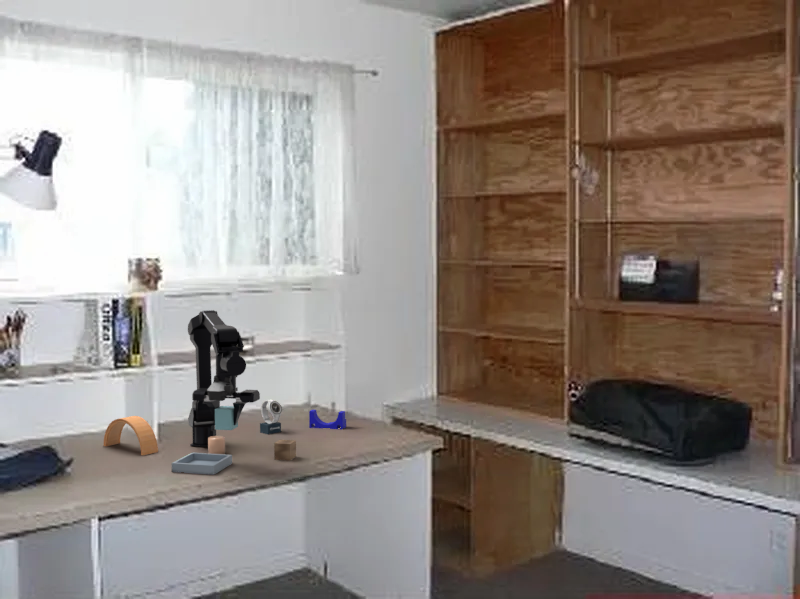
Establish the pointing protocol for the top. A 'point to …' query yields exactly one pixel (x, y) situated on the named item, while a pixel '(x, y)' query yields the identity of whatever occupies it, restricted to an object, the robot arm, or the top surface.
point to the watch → (269, 425)
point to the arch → (139, 427)
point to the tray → (202, 463)
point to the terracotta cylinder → (216, 445)
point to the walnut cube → (285, 450)
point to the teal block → (225, 418)
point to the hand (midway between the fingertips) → (226, 424)
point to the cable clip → (320, 424)
